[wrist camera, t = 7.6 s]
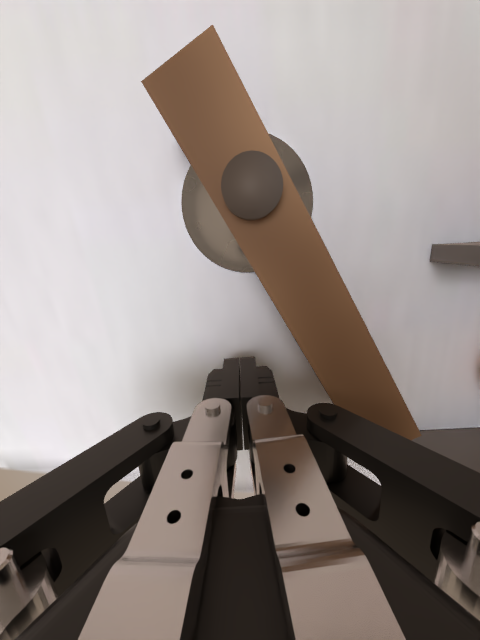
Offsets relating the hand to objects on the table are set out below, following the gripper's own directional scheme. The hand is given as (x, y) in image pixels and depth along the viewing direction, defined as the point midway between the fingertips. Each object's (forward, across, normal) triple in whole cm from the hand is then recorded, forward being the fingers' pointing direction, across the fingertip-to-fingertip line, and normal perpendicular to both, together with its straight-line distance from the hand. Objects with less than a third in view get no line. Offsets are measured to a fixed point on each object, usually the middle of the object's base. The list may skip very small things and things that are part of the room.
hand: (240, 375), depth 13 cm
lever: (+1, -3, -4) cm, 5 cm away
